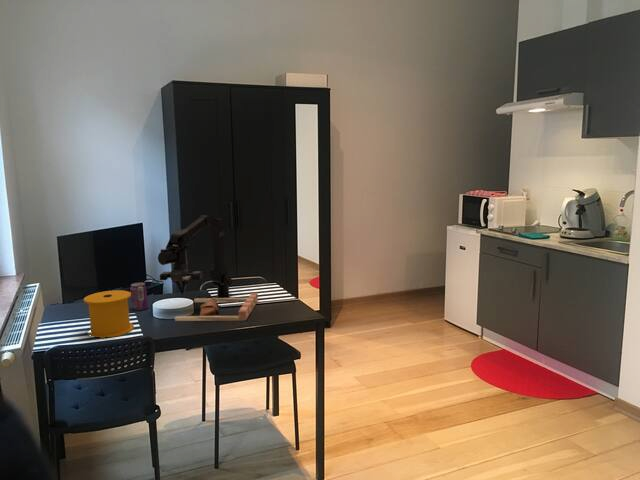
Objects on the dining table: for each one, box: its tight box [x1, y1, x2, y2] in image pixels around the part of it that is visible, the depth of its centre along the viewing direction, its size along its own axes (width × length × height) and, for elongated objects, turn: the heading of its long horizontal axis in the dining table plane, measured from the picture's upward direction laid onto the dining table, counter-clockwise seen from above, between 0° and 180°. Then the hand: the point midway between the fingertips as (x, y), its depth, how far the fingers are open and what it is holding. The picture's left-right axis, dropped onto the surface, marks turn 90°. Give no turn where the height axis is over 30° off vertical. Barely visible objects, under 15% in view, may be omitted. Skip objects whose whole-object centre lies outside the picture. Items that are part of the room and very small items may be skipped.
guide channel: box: [174, 292, 259, 322], centre depth 240 cm, size 30×31×4 cm
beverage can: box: [129, 282, 149, 311], centre depth 244 cm, size 7×7×12 cm
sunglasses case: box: [199, 297, 219, 316], centre depth 240 cm, size 18×7×7 cm, turn 14°
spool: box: [83, 289, 135, 339], centre depth 214 cm, size 18×18×15 cm
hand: (182, 293), depth 240 cm, fingers closed
